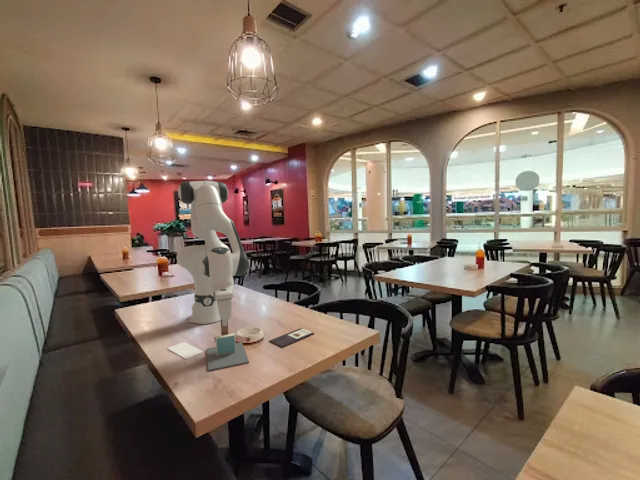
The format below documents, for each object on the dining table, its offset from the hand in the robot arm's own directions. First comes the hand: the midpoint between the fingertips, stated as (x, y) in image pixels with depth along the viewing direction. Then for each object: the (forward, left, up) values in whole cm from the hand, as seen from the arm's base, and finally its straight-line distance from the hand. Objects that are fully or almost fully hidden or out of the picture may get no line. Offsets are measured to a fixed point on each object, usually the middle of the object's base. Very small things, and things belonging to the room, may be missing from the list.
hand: (224, 323), depth 118 cm
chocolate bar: (-1, +28, -12) cm, 30 cm away
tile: (+3, 0, -7) cm, 8 cm away
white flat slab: (-8, -15, -12) cm, 21 cm away
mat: (+4, 0, -11) cm, 12 cm away
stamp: (0, 0, -6) cm, 6 cm away
